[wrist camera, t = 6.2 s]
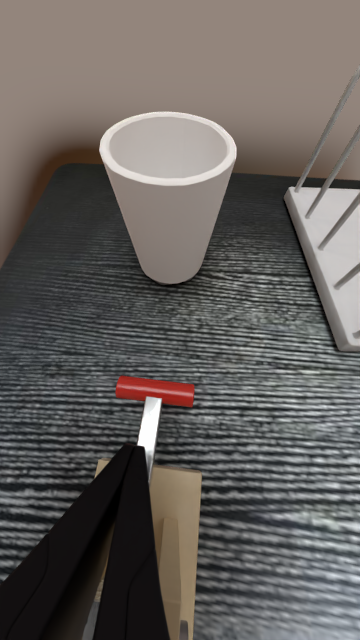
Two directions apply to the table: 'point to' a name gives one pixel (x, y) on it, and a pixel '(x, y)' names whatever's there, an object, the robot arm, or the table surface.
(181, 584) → the switch box
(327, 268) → the file sorter
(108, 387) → the table surface
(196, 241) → the cup
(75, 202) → the table surface
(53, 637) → the robot arm
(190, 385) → the power lever
